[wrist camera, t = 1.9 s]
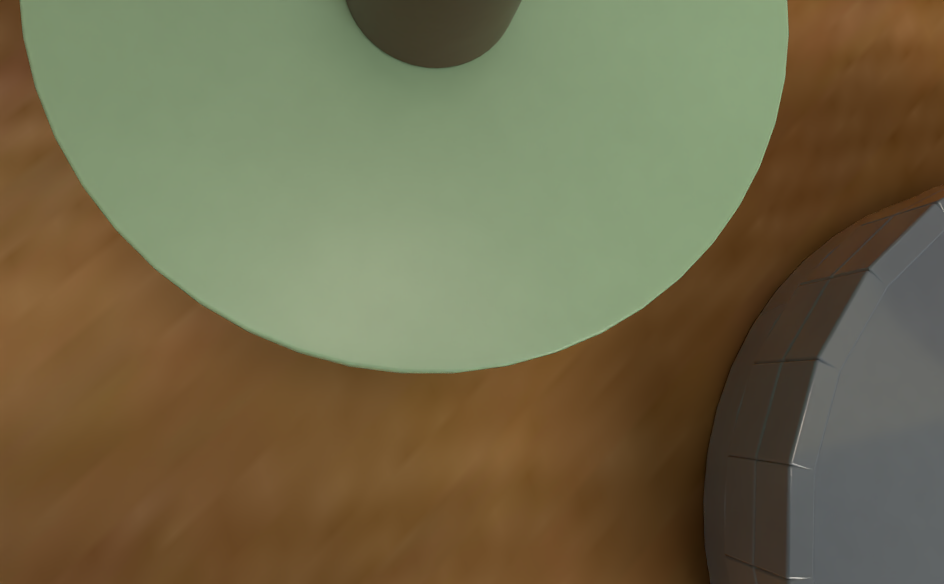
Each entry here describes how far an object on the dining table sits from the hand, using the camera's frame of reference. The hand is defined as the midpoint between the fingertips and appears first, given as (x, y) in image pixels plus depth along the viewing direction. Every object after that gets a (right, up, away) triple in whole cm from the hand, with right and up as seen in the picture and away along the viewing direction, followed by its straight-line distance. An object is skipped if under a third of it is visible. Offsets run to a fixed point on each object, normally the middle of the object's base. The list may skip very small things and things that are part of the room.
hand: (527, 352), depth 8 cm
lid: (-1, +5, +7) cm, 9 cm away
